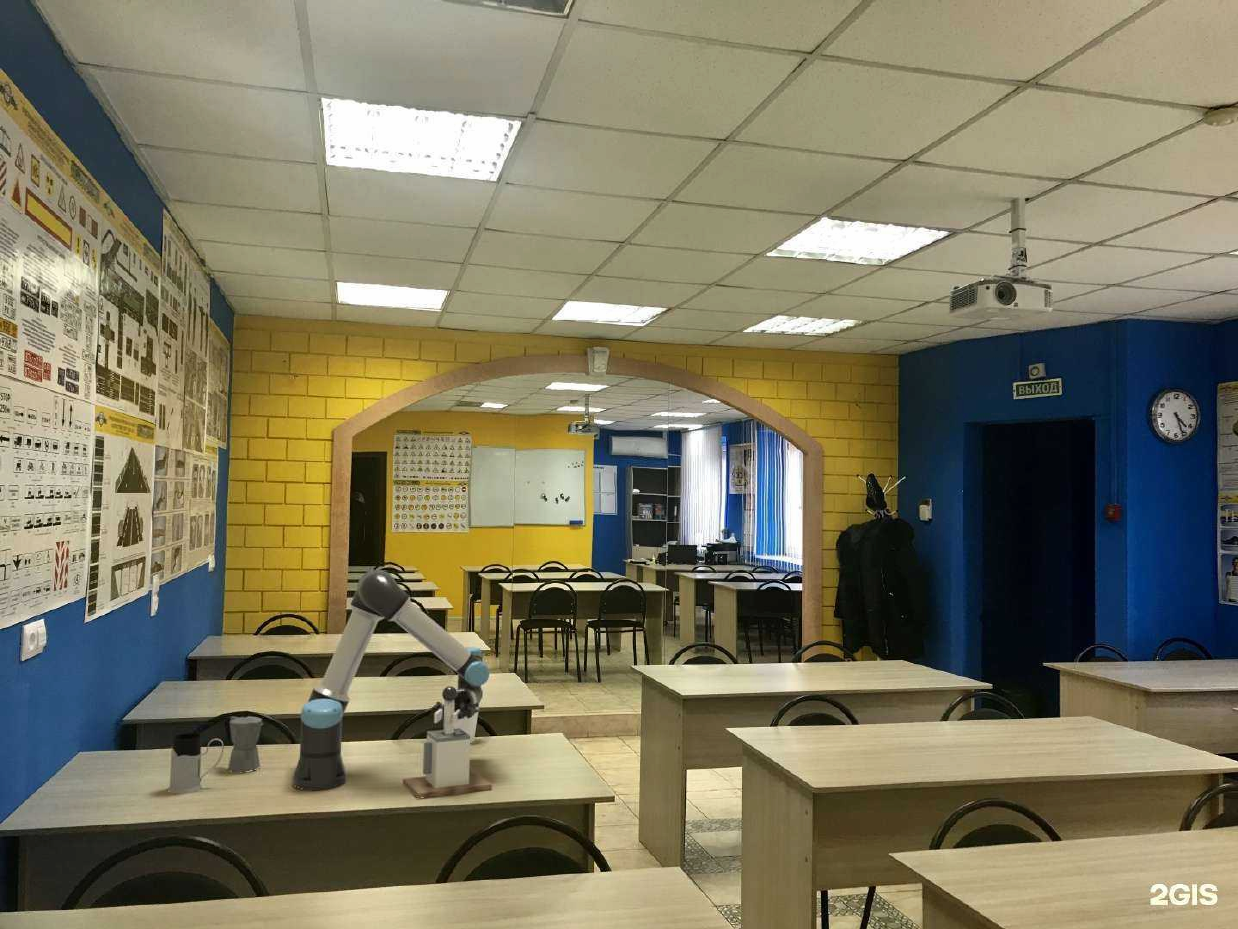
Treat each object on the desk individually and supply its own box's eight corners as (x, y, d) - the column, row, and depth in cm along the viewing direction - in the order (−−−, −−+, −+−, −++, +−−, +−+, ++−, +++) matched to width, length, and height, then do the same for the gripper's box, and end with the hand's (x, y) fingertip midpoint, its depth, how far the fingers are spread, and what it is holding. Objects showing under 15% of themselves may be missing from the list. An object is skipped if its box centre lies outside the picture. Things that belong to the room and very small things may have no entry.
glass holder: (169, 786, 267) (171, 733, 268) (222, 782, 272) (224, 730, 273) (166, 795, 259) (168, 740, 259) (221, 790, 264) (223, 737, 265)
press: (428, 789, 264) (429, 739, 265) (418, 780, 273) (419, 732, 273) (468, 784, 270) (470, 735, 270) (458, 775, 278) (459, 728, 279)
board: (417, 799, 259) (417, 793, 259) (402, 784, 273) (402, 779, 274) (491, 789, 270) (491, 784, 270) (473, 775, 284) (473, 770, 284)
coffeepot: (271, 768, 287) (273, 710, 288) (248, 776, 279) (250, 715, 280) (234, 762, 293) (236, 705, 294) (210, 769, 285) (213, 710, 286)
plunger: (439, 780, 267) (442, 689, 268) (432, 774, 273) (434, 685, 275) (462, 778, 270) (465, 687, 272) (454, 771, 276) (457, 683, 278)
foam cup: (481, 739, 329) (482, 702, 330) (474, 745, 320) (475, 708, 321) (455, 738, 330) (456, 701, 331) (447, 744, 321) (449, 706, 322)
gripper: (489, 715, 290) (474, 732, 267) (434, 713, 291) (414, 730, 268) (490, 691, 290) (475, 706, 267) (435, 689, 291) (415, 704, 268)
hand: (444, 718), depth 267 cm, fingers open, 5 cm apart
